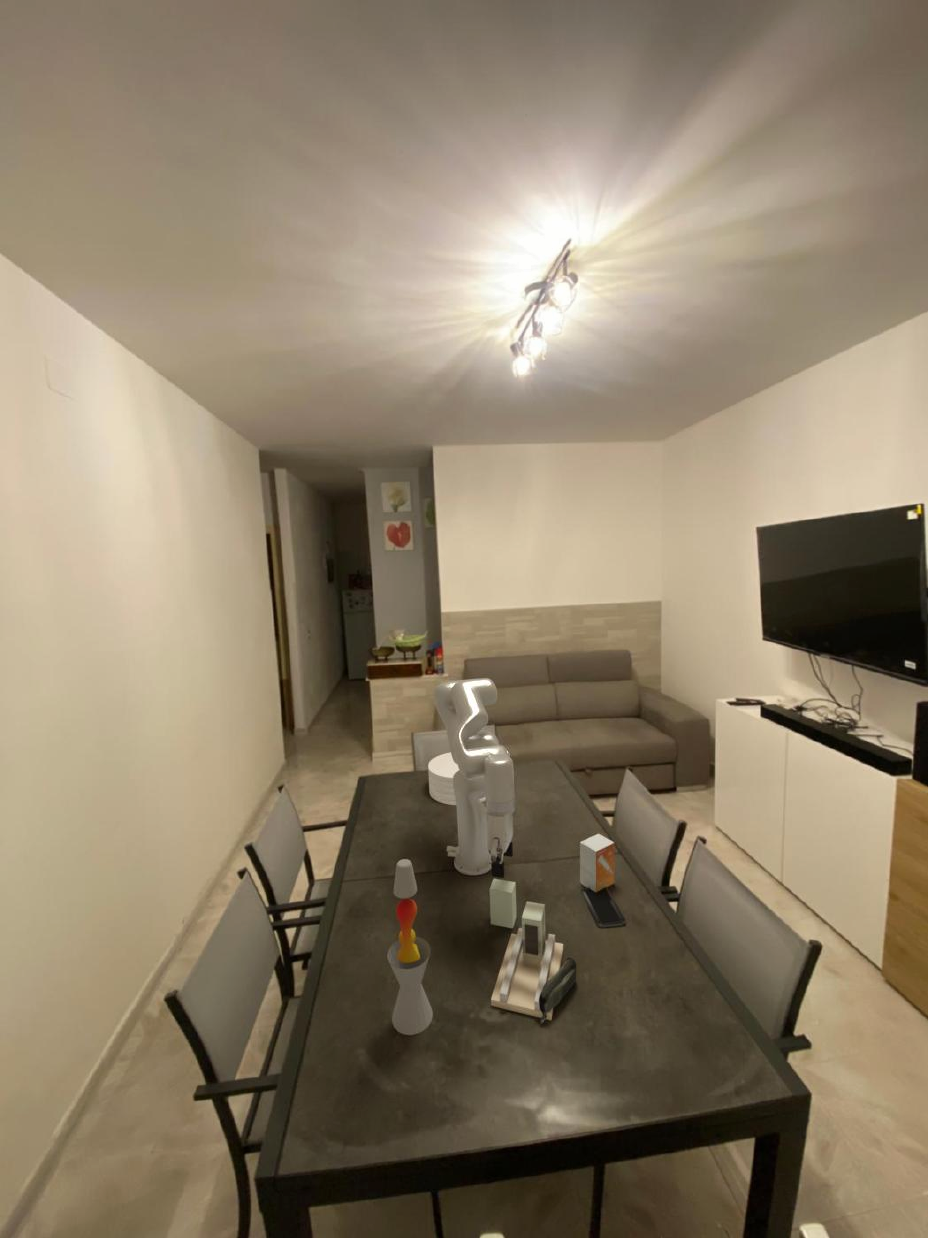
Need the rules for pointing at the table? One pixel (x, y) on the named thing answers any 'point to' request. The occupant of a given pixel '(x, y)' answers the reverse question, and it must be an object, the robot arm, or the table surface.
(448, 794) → the plate stack
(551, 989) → the mobile phone
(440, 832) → the table surface
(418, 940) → the lava lamp
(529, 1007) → the rail board
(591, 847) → the small box
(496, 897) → the pale green tall block
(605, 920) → the phone
